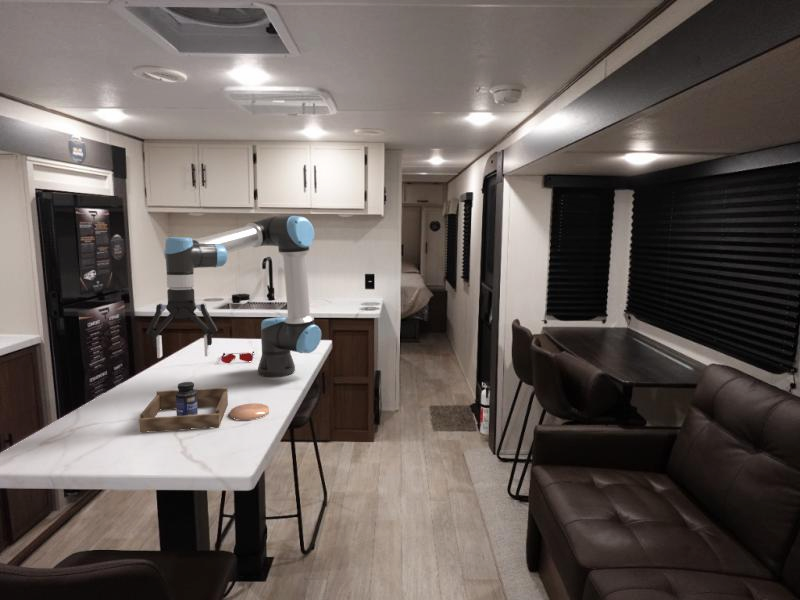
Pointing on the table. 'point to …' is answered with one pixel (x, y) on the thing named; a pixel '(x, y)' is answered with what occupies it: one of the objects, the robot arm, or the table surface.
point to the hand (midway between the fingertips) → (183, 356)
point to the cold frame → (187, 421)
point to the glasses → (230, 357)
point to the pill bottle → (186, 399)
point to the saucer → (249, 411)
